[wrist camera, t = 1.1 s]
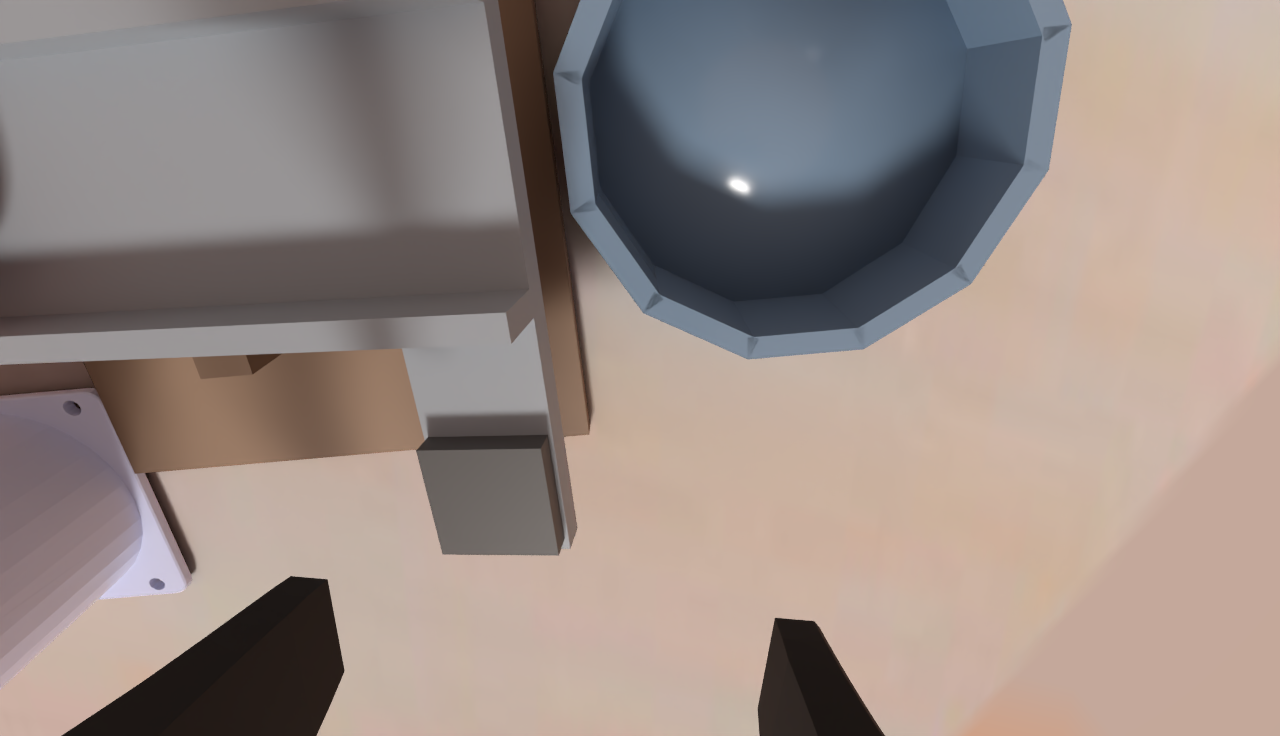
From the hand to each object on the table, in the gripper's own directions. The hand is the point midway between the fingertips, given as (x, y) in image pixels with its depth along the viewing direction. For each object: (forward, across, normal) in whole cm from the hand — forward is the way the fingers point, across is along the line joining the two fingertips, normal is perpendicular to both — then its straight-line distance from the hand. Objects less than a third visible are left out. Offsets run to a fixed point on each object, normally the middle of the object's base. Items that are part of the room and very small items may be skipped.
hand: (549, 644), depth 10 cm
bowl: (+12, -4, -8) cm, 14 cm away
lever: (+6, +9, -3) cm, 11 cm away
